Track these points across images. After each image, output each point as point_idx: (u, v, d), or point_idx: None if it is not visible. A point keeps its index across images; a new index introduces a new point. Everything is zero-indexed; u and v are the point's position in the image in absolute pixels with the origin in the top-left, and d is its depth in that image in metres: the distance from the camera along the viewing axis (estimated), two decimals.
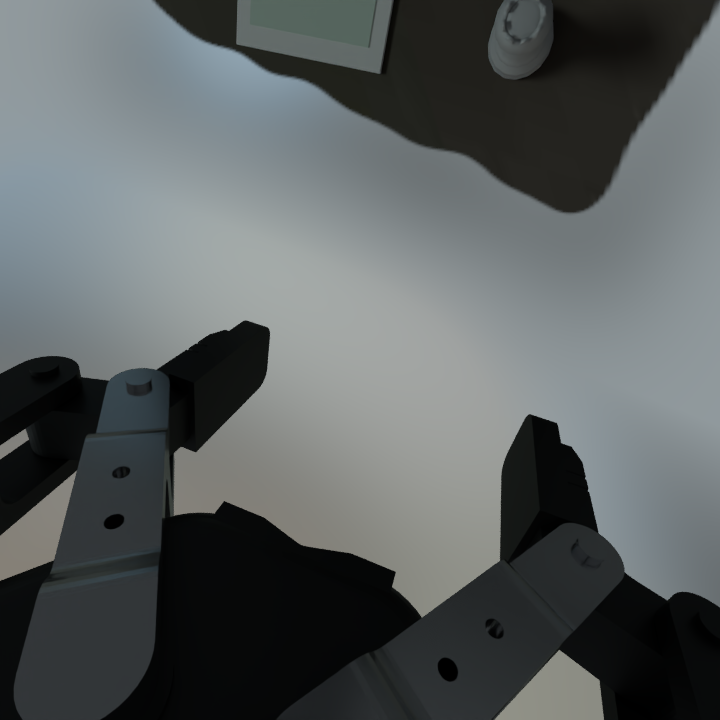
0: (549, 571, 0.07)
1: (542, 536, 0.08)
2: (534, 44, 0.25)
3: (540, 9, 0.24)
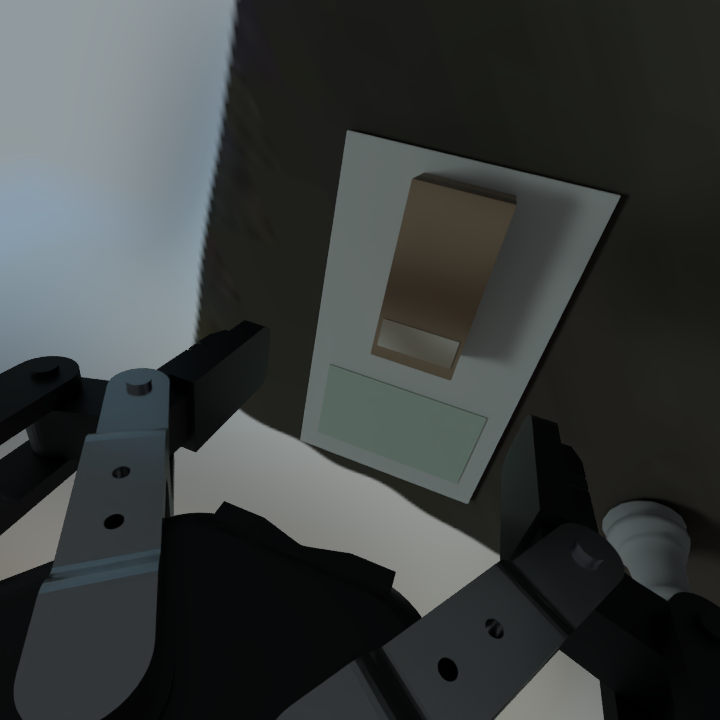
0: (549, 571, 0.07)
1: (542, 536, 0.08)
2: None
3: None
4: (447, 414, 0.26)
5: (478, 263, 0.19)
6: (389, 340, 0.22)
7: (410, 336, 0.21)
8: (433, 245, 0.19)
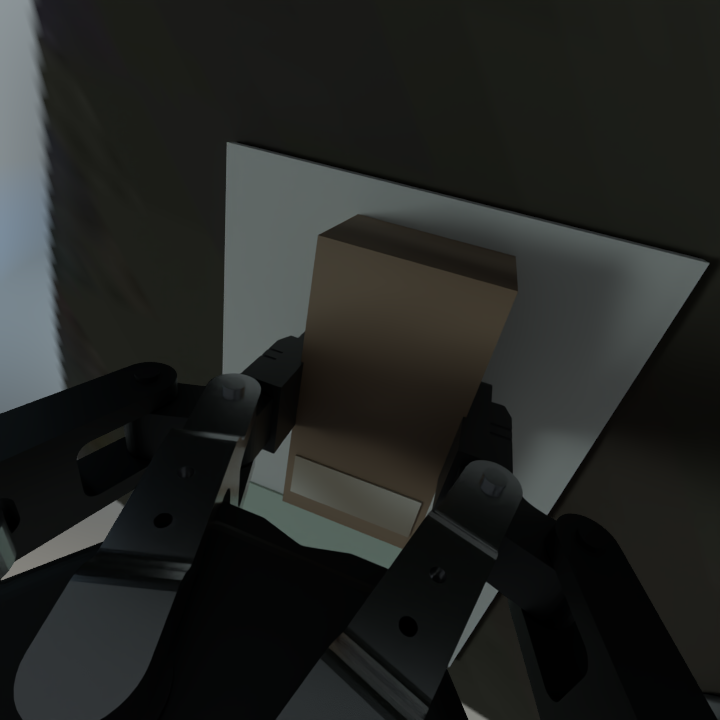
0: (453, 494, 0.08)
1: (460, 473, 0.09)
2: None
3: None
4: None
5: (447, 387, 0.10)
6: (309, 485, 0.13)
7: (340, 485, 0.13)
8: (366, 352, 0.10)
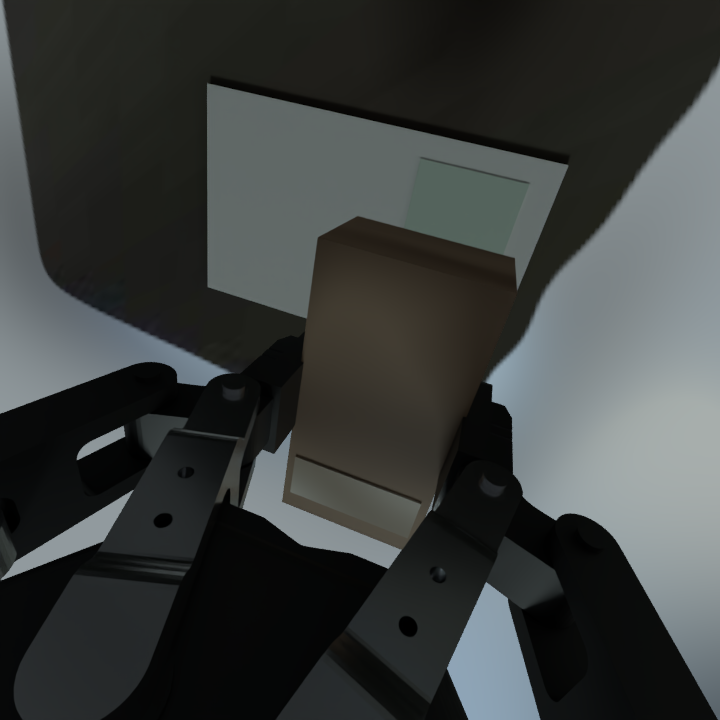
0: (453, 494, 0.08)
1: (459, 473, 0.09)
2: None
3: None
4: (421, 204, 0.24)
5: (446, 388, 0.10)
6: (309, 486, 0.13)
7: (340, 486, 0.13)
8: (365, 353, 0.10)
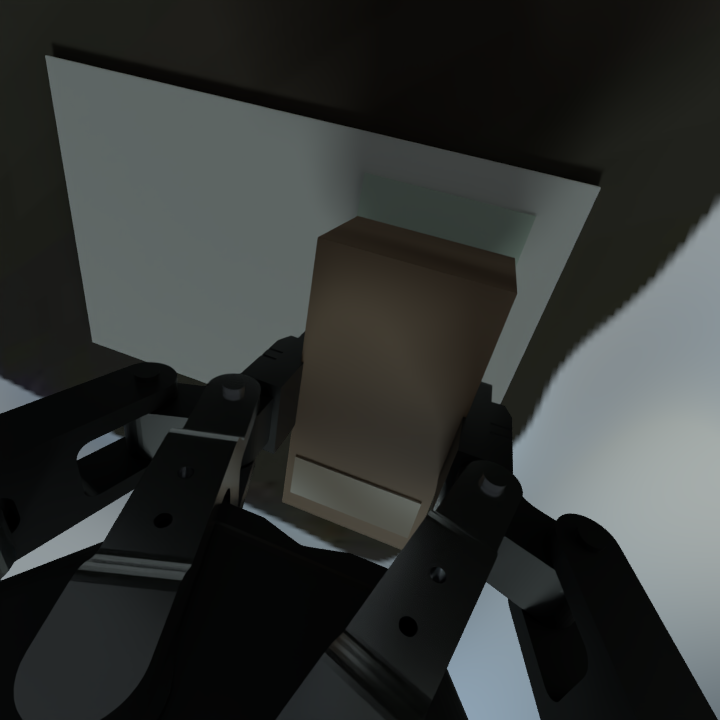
0: (453, 494, 0.08)
1: (460, 473, 0.09)
2: None
3: None
4: None
5: (446, 388, 0.10)
6: (309, 486, 0.13)
7: (340, 486, 0.13)
8: (365, 353, 0.10)
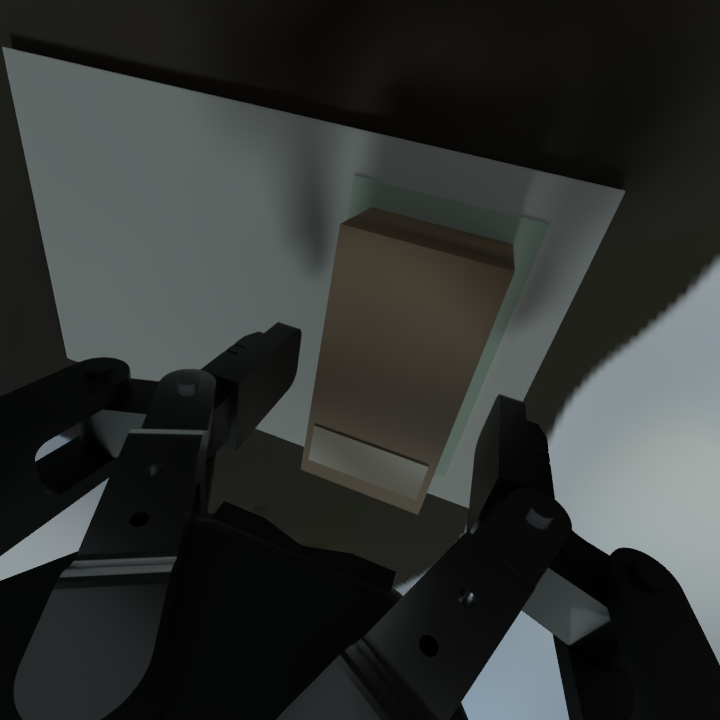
0: (500, 528, 0.08)
1: (501, 501, 0.09)
2: None
3: None
4: None
5: (452, 358, 0.11)
6: (326, 454, 0.15)
7: (354, 452, 0.14)
8: (380, 328, 0.12)
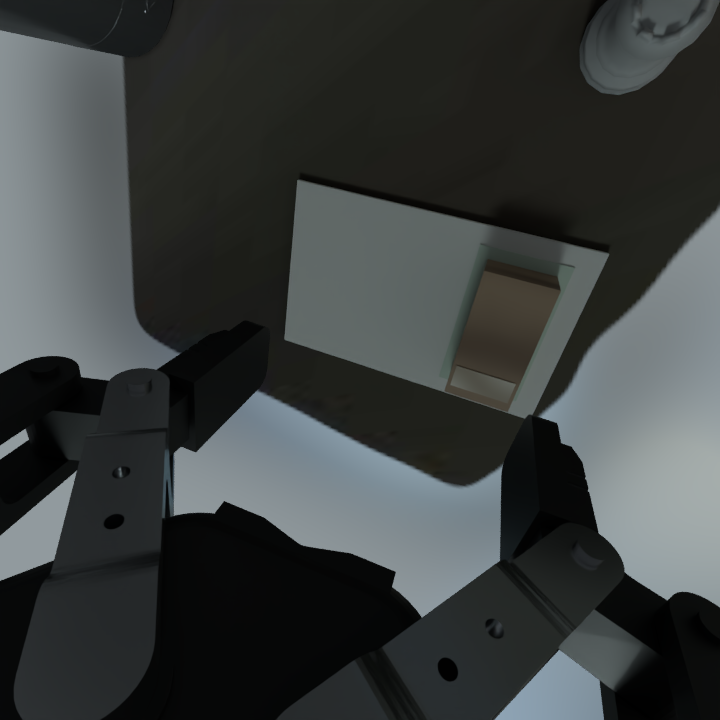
0: (549, 571, 0.07)
1: (542, 536, 0.08)
2: None
3: None
4: (479, 280, 0.28)
5: (531, 328, 0.26)
6: (460, 381, 0.29)
7: (477, 379, 0.28)
8: (497, 315, 0.26)
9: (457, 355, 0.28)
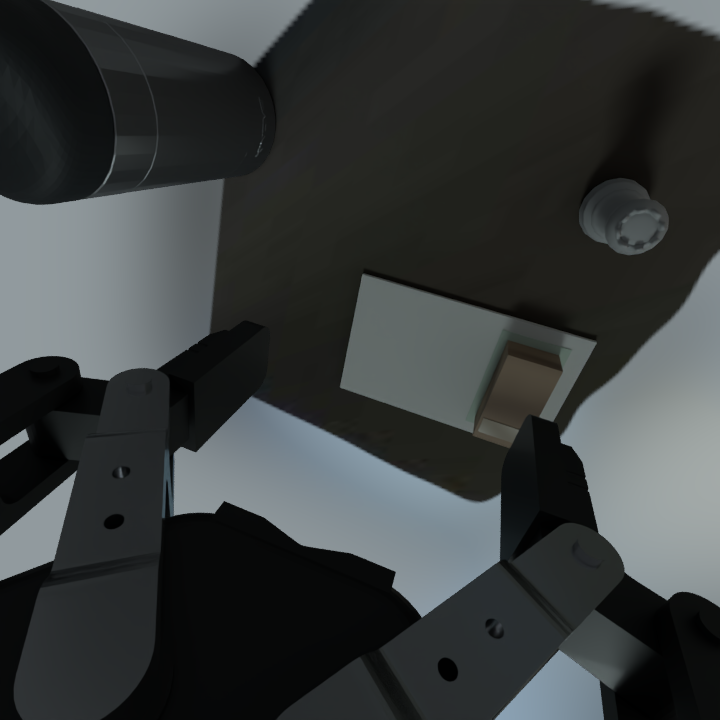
0: (549, 571, 0.07)
1: (542, 536, 0.08)
2: (664, 214, 0.24)
3: (635, 213, 0.24)
4: (500, 354, 0.38)
5: (540, 395, 0.35)
6: (485, 429, 0.39)
7: (498, 428, 0.38)
8: (516, 385, 0.36)
9: (484, 410, 0.38)
